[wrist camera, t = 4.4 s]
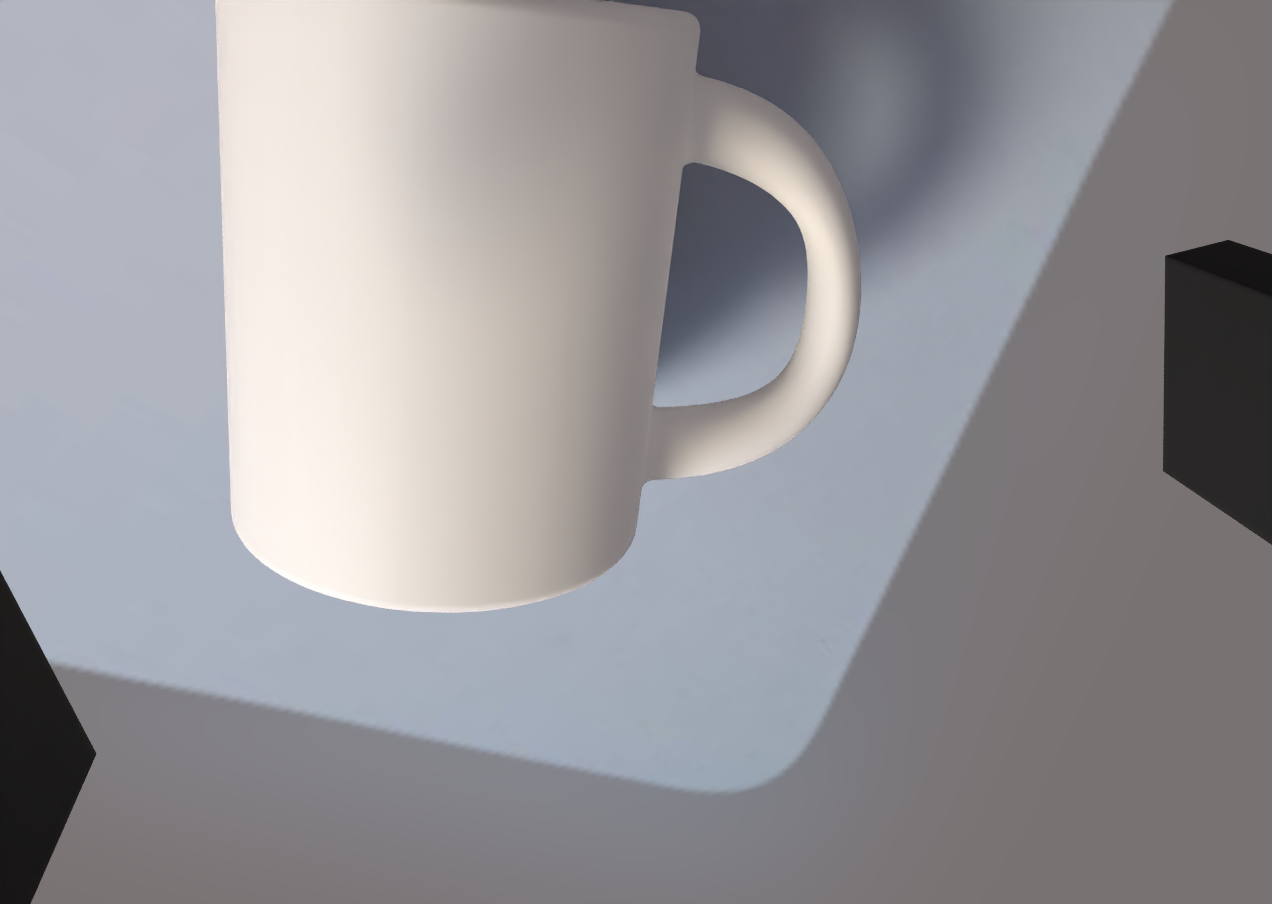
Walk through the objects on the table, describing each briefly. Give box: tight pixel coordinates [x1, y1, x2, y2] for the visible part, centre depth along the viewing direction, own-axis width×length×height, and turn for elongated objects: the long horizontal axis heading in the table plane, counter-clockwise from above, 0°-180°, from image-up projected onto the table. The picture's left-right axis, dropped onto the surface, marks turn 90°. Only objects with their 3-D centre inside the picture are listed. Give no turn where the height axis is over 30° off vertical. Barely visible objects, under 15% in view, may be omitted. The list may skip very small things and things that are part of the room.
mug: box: [215, 0, 861, 612], centre depth 21 cm, size 12×10×8 cm
